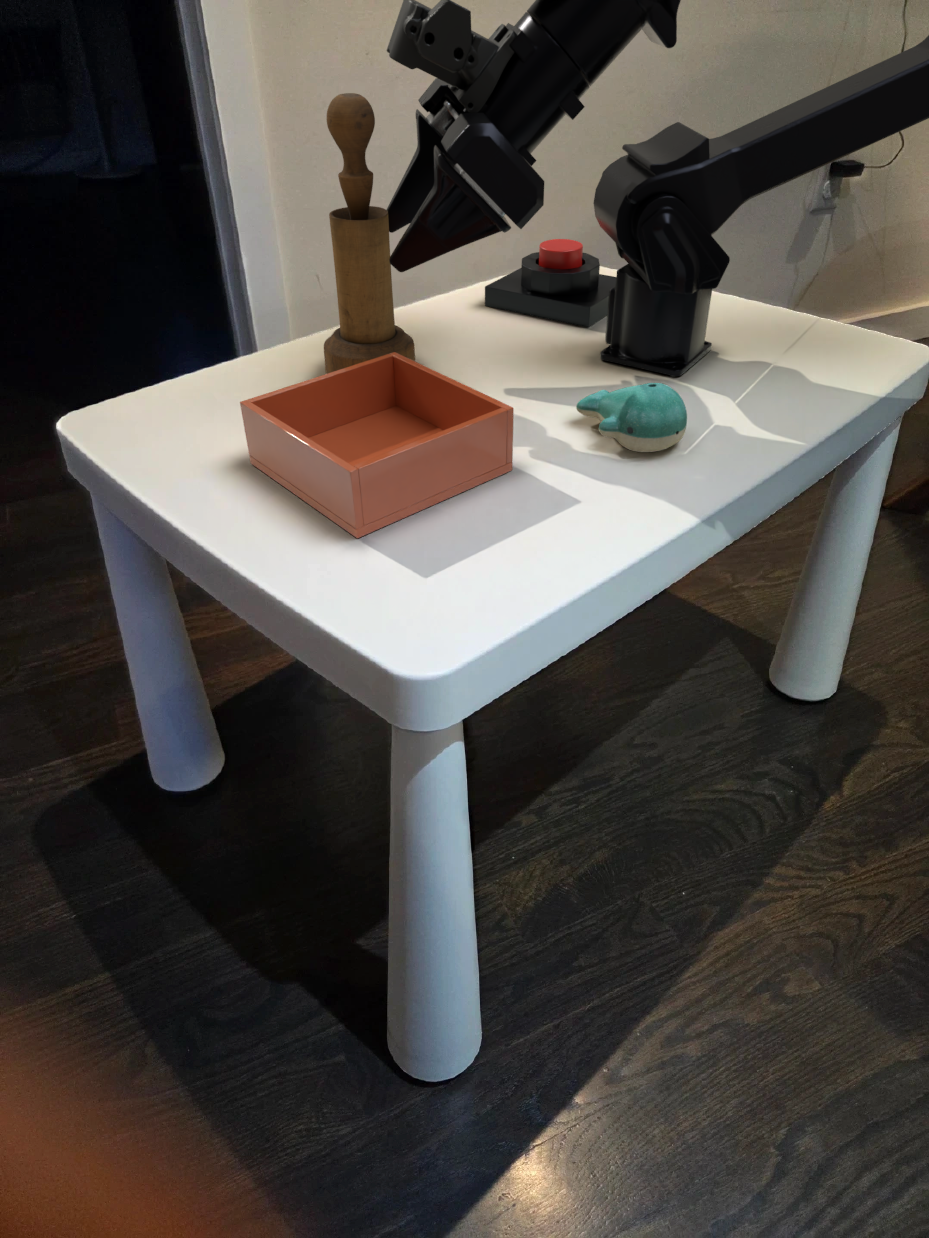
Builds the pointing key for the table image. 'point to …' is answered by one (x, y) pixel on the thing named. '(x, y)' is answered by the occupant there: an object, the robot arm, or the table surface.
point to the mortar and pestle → (360, 249)
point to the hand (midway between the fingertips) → (389, 246)
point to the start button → (560, 254)
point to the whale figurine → (638, 416)
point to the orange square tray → (378, 440)
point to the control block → (554, 291)
